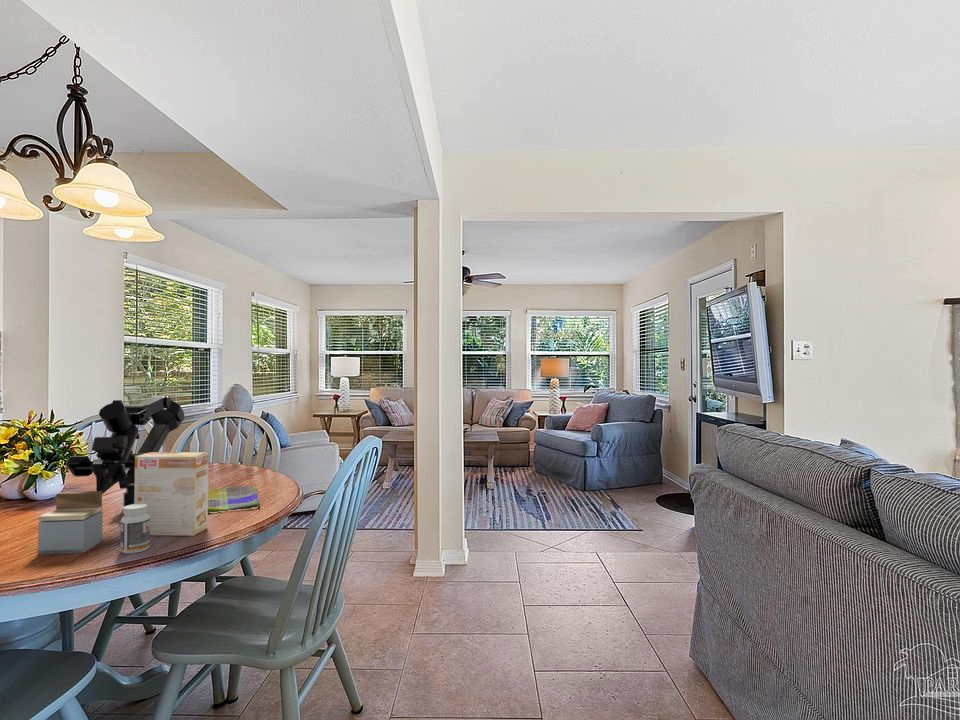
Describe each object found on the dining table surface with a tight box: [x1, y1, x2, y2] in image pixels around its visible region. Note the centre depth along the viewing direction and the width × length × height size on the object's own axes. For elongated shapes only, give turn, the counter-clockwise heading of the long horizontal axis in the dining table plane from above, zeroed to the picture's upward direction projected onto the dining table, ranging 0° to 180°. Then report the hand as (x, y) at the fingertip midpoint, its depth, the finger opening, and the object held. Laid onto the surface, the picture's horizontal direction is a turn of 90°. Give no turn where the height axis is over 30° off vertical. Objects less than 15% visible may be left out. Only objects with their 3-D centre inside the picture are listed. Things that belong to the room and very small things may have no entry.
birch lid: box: [38, 490, 104, 522], centre depth 123 cm, size 8×9×4 cm
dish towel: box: [208, 484, 261, 513], centre depth 165 cm, size 18×24×3 cm
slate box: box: [37, 510, 104, 555], centre depth 123 cm, size 8×9×7 cm
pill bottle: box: [119, 504, 151, 555], centre depth 122 cm, size 6×6×10 cm
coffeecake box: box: [134, 451, 209, 537], centre depth 136 cm, size 15×7×20 cm, turn 90°
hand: (98, 494), depth 135 cm, fingers closed
